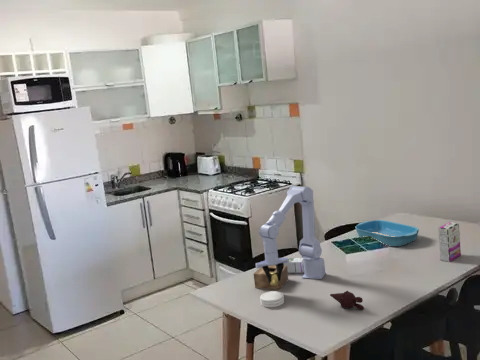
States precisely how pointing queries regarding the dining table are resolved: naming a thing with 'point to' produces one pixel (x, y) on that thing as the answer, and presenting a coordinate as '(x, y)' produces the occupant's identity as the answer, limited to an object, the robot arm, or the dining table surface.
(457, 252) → the candy bar box
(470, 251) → the dining table surface
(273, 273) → the cylinder
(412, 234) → the casserole dish
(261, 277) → the box
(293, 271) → the syrup box
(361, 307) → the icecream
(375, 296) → the dining table surface
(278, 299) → the coaster
